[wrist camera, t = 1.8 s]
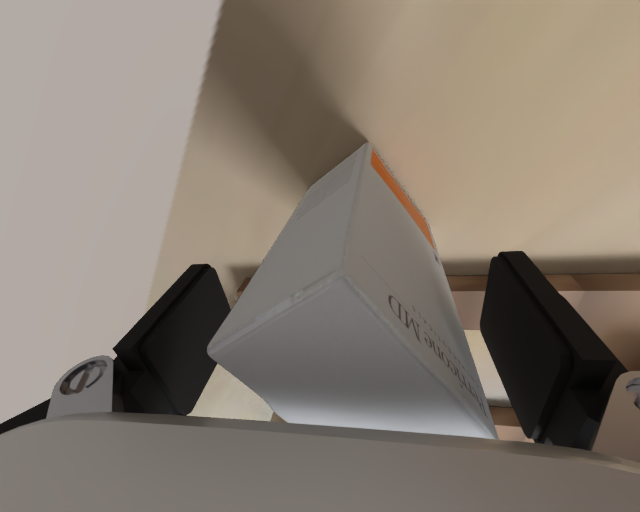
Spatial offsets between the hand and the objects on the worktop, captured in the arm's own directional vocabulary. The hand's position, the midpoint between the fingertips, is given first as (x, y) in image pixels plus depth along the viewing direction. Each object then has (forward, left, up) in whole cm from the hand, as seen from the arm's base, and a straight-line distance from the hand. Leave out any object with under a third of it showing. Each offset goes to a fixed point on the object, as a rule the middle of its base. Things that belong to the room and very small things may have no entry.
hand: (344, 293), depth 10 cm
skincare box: (-1, 0, -8) cm, 8 cm away
